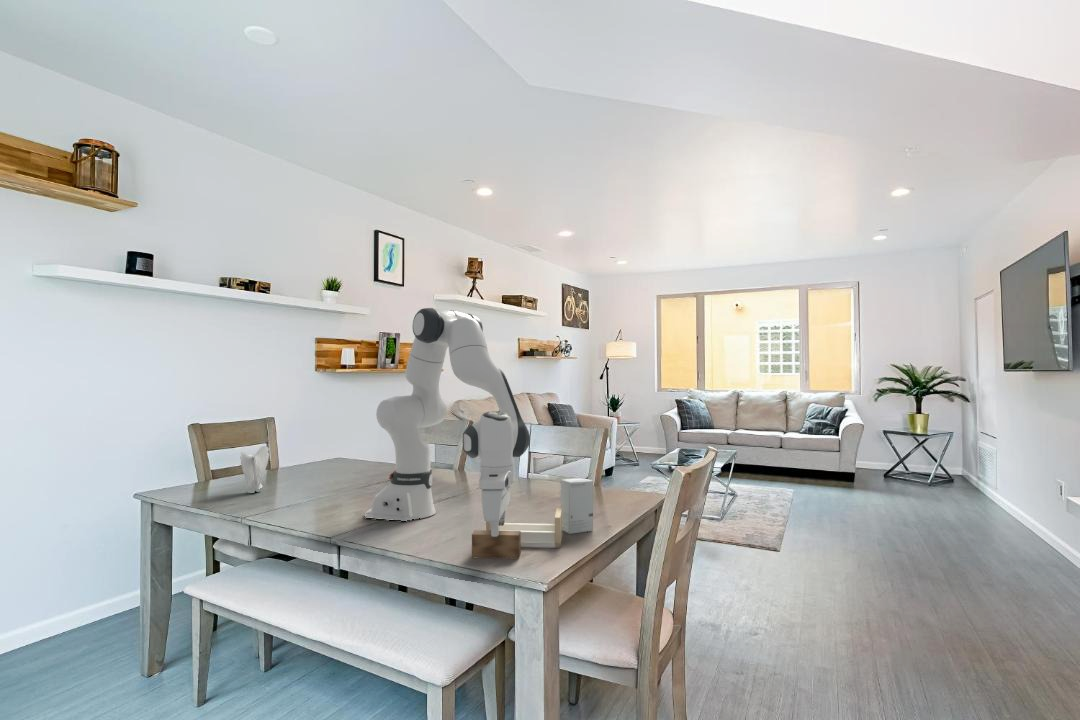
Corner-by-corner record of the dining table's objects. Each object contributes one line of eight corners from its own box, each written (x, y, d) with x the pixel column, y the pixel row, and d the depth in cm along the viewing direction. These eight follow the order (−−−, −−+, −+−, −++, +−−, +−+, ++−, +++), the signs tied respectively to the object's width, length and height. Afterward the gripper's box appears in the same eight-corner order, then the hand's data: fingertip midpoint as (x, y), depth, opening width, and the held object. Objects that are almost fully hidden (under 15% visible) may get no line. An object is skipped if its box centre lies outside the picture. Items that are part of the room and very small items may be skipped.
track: (486, 546, 147) (486, 516, 147) (492, 534, 157) (492, 506, 157) (560, 547, 145) (560, 517, 145) (562, 536, 155) (562, 507, 155)
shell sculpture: (237, 495, 209) (237, 447, 209) (252, 490, 217) (251, 444, 217) (256, 495, 207) (256, 448, 208) (270, 490, 216) (270, 445, 216)
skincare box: (569, 534, 156) (568, 482, 156) (559, 529, 162) (559, 478, 162) (594, 531, 160) (594, 480, 160) (584, 525, 165) (584, 476, 165)
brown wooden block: (471, 558, 138) (471, 534, 138) (474, 553, 142) (474, 530, 142) (518, 559, 137) (518, 535, 137) (520, 554, 141) (520, 531, 141)
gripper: (492, 468, 151) (493, 519, 150) (477, 483, 130) (478, 542, 130) (514, 468, 150) (515, 519, 150) (503, 483, 130) (504, 542, 129)
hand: (498, 530), depth 140 cm, fingers open, 8 cm apart
